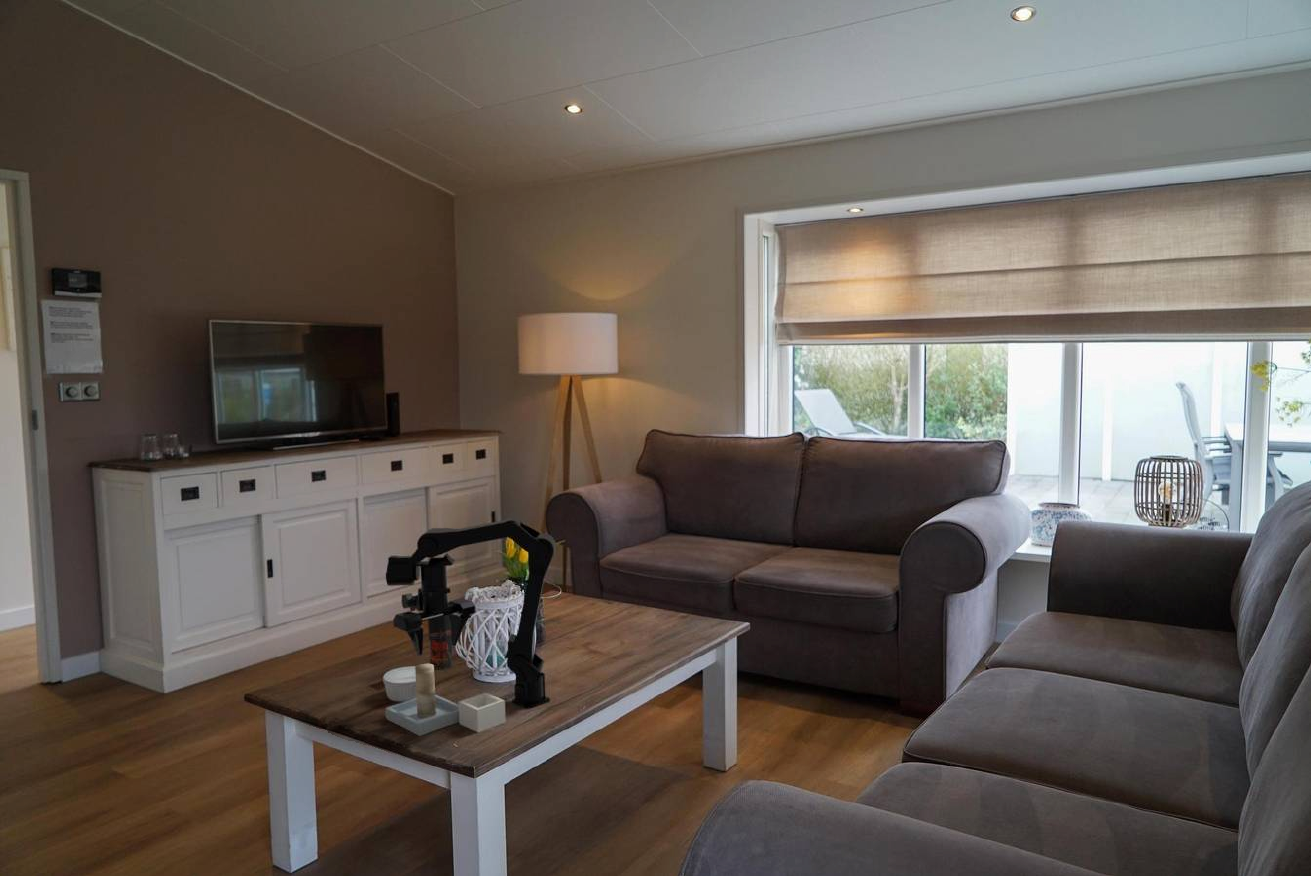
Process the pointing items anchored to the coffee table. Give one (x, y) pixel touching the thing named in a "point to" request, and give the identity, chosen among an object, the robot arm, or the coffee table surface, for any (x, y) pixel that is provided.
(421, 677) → the beech dowel
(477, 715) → the white open box
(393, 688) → the ramekin
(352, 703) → the coffee table surface
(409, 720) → the slate tray
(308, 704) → the coffee table surface
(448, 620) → the deodorant
